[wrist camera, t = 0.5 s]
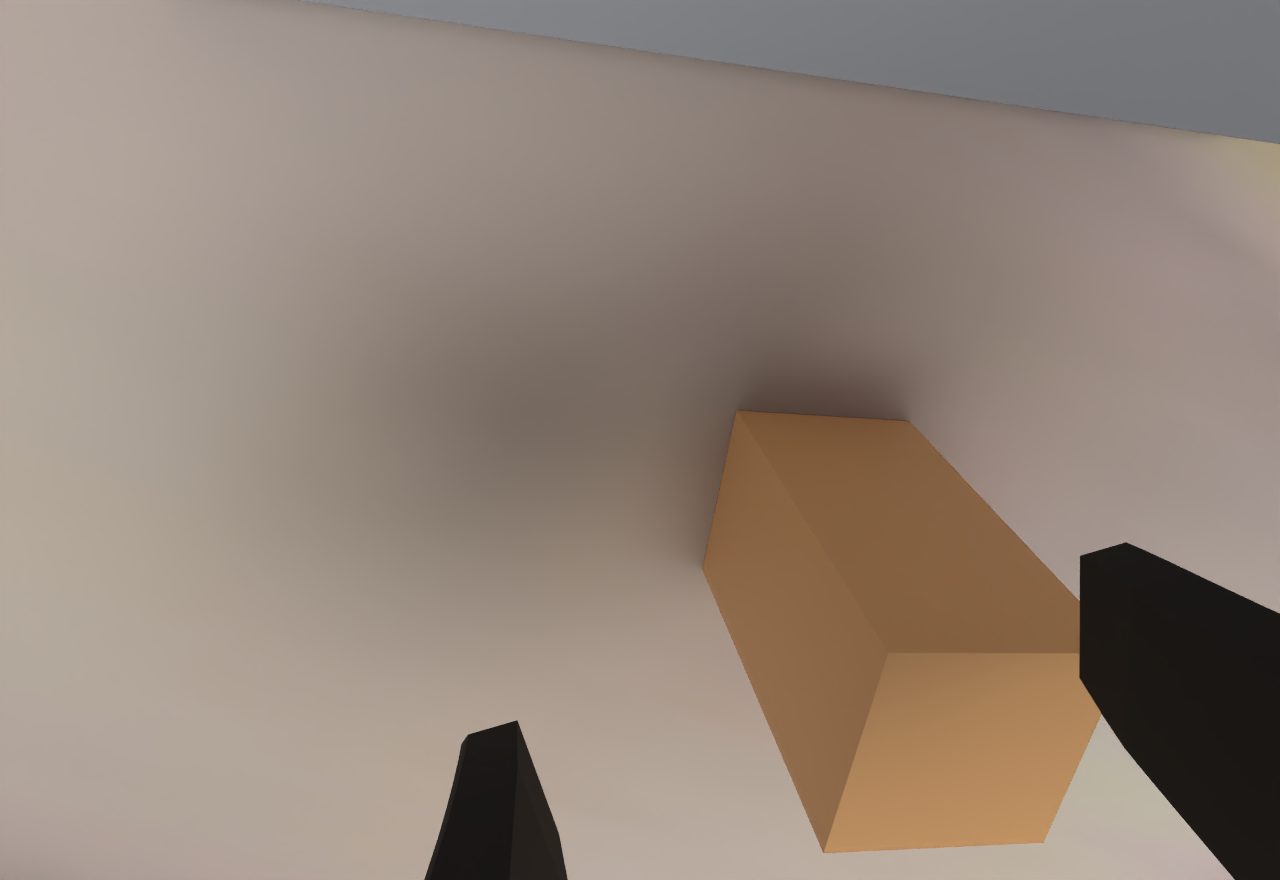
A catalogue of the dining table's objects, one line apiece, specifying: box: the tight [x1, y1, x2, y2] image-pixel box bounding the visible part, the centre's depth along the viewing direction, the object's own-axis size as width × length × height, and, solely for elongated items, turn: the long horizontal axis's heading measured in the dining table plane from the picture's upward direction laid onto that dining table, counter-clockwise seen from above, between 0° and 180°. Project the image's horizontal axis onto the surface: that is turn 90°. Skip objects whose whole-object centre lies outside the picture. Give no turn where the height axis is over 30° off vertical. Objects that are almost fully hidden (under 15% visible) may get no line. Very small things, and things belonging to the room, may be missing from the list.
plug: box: [702, 411, 1102, 853], centre depth 19 cm, size 4×4×8 cm
